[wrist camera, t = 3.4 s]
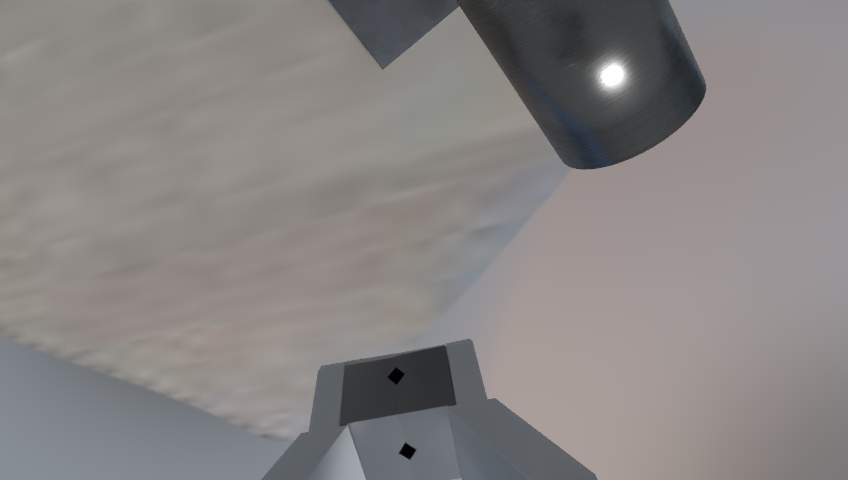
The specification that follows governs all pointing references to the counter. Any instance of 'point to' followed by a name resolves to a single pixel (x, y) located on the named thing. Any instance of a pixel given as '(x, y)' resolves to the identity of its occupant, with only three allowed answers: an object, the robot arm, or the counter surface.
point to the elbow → (594, 71)
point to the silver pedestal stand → (392, 23)
